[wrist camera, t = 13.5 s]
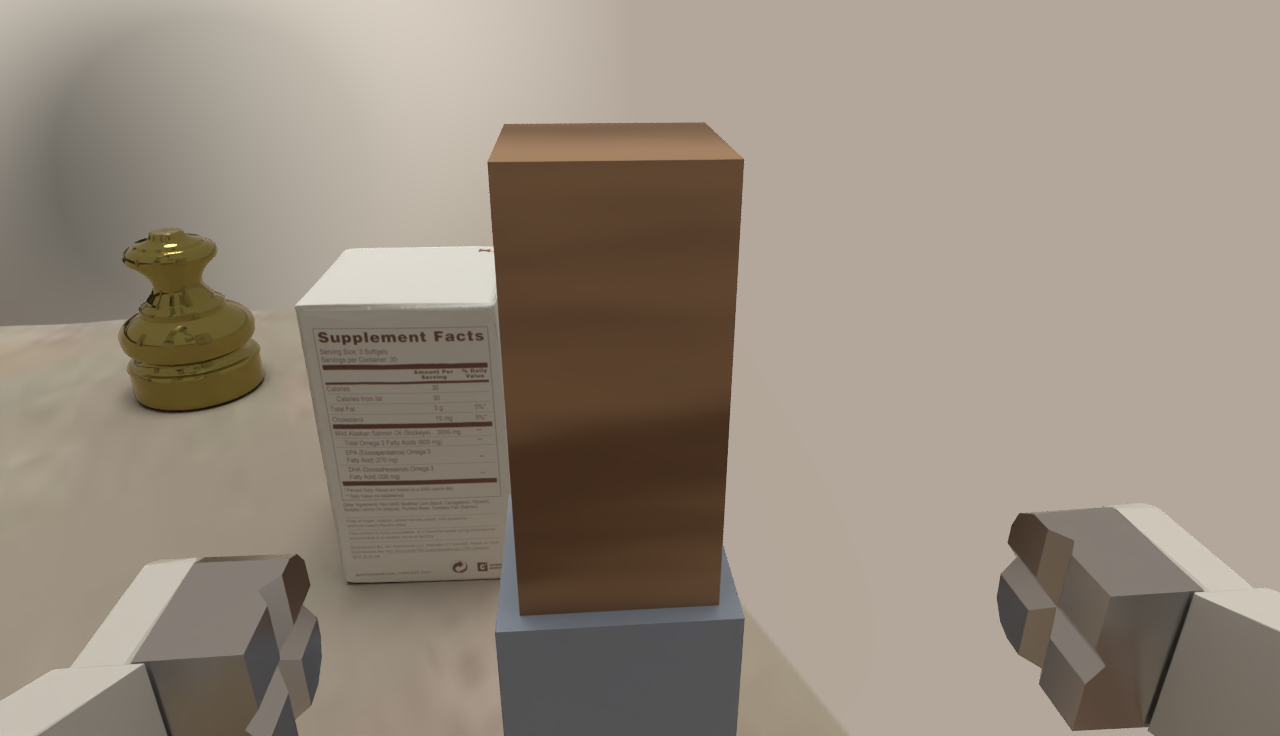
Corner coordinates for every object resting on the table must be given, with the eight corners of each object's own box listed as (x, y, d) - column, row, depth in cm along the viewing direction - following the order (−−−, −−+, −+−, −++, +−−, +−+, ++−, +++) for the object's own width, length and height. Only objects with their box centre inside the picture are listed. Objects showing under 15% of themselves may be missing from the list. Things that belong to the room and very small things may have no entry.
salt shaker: (223, 354, 57) (191, 209, 53) (290, 380, 53) (261, 227, 49) (111, 393, 51) (65, 235, 47) (177, 426, 47) (134, 257, 43)
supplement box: (380, 491, 41) (344, 244, 36) (530, 487, 42) (515, 243, 36) (339, 588, 34) (287, 302, 29) (517, 583, 35) (497, 299, 30)
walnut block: (719, 605, 19) (744, 159, 15) (519, 616, 18) (487, 162, 14) (691, 495, 23) (704, 122, 19) (527, 502, 23) (504, 123, 18)
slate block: (733, 777, 20) (744, 618, 18) (509, 793, 20) (495, 632, 18) (699, 623, 25) (705, 484, 23) (519, 633, 25) (509, 493, 23)
